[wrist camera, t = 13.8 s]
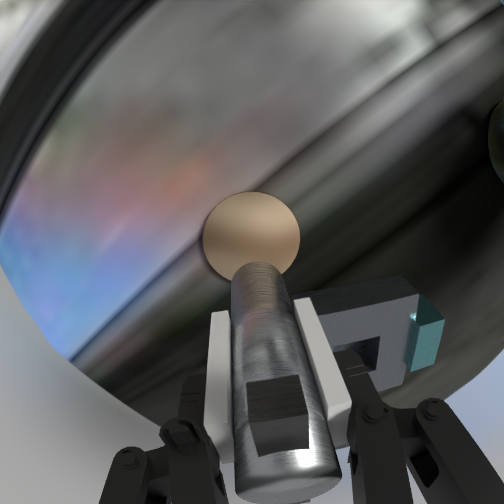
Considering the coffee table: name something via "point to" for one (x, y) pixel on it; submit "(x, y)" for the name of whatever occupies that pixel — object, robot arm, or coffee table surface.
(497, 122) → the mug
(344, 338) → the block
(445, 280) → the coffee table surface
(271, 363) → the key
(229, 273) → the coaster
